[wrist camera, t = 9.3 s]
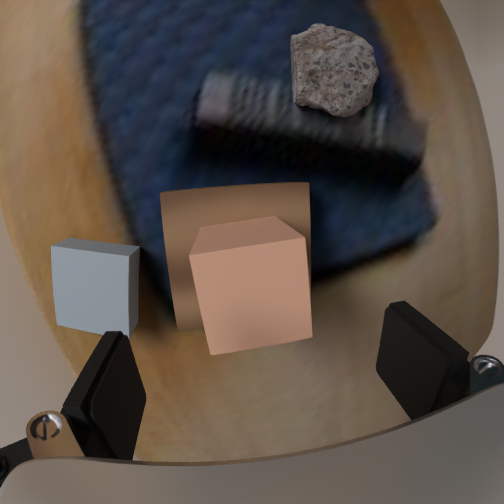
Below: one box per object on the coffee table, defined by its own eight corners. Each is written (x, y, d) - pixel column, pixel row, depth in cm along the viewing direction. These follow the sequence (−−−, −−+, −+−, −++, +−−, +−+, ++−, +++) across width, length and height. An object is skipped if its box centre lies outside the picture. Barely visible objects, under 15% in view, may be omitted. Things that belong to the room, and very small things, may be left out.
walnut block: (168, 191, 27) (159, 192, 23) (297, 181, 28) (308, 182, 24) (182, 311, 29) (177, 329, 26) (299, 301, 30) (310, 317, 27)
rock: (290, 119, 26) (301, 109, 22) (284, 24, 23) (293, 5, 19) (373, 125, 27) (394, 120, 23) (363, 36, 24) (380, 21, 20)
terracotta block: (200, 227, 24) (188, 255, 15) (274, 216, 24) (305, 237, 15) (213, 296, 25) (210, 355, 16) (283, 285, 26) (312, 337, 17)
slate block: (70, 237, 26) (51, 245, 22) (140, 245, 27) (128, 256, 23) (72, 308, 28) (57, 324, 24) (139, 320, 29) (129, 339, 25)
